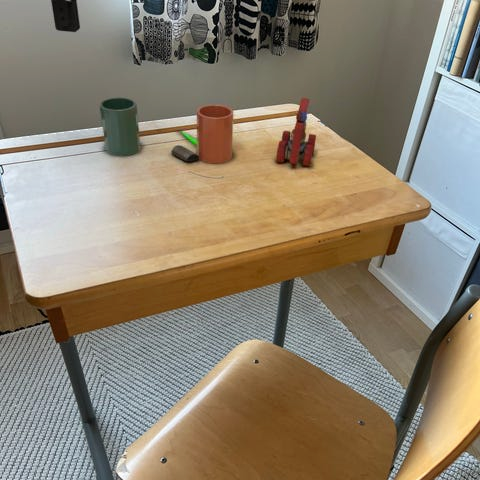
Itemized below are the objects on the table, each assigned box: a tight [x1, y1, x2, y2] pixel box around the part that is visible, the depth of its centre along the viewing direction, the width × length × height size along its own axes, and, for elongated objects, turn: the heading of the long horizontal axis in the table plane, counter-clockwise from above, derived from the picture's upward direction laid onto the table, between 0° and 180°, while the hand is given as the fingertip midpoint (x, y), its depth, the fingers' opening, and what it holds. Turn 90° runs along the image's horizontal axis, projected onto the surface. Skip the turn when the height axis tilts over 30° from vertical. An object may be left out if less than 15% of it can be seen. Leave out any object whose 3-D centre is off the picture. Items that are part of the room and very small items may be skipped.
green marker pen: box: [180, 130, 197, 147], centre depth 108 cm, size 1×14×1 cm, turn 35°
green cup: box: [98, 96, 141, 157], centre depth 102 cm, size 7×7×9 cm
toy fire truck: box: [276, 97, 317, 167], centre depth 102 cm, size 7×12×10 cm, turn 168°
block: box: [171, 144, 200, 162], centre depth 103 cm, size 4×6×2 cm, turn 40°
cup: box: [196, 104, 235, 164], centre depth 102 cm, size 7×7×9 cm
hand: (68, 29), depth 77 cm, fingers closed
